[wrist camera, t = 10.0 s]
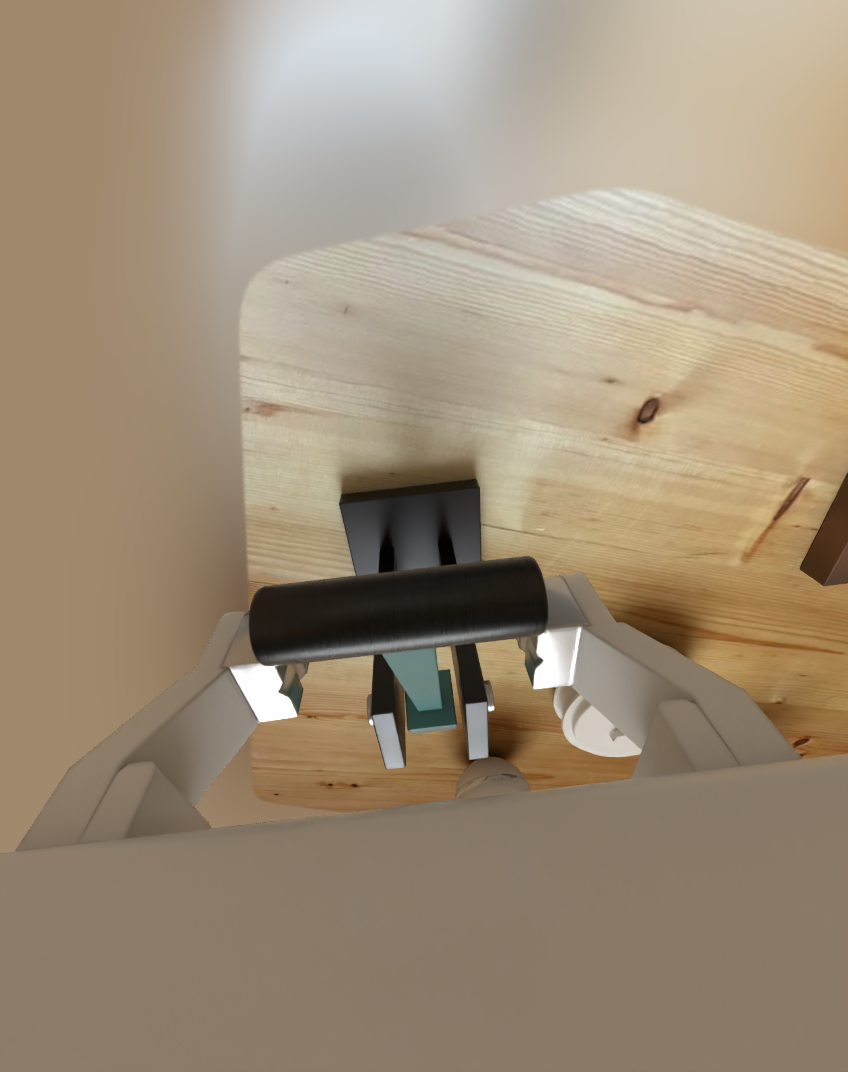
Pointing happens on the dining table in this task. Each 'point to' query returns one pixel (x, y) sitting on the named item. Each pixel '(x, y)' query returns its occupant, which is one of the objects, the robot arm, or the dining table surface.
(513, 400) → the dining table surface
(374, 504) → the bracket
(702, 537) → the dining table surface
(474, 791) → the bath bomb
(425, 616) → the lever
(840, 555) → the button block
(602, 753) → the lid
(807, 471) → the dining table surface
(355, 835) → the robot arm
